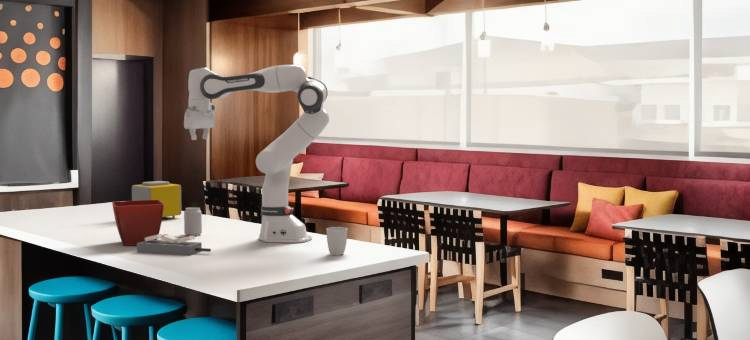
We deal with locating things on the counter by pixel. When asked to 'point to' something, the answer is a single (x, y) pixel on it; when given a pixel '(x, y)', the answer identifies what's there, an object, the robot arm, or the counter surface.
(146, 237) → the rocker
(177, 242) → the block
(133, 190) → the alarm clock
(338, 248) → the cup
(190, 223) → the can
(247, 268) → the counter surface
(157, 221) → the plant pot
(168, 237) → the rocker
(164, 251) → the rocker switch panel
